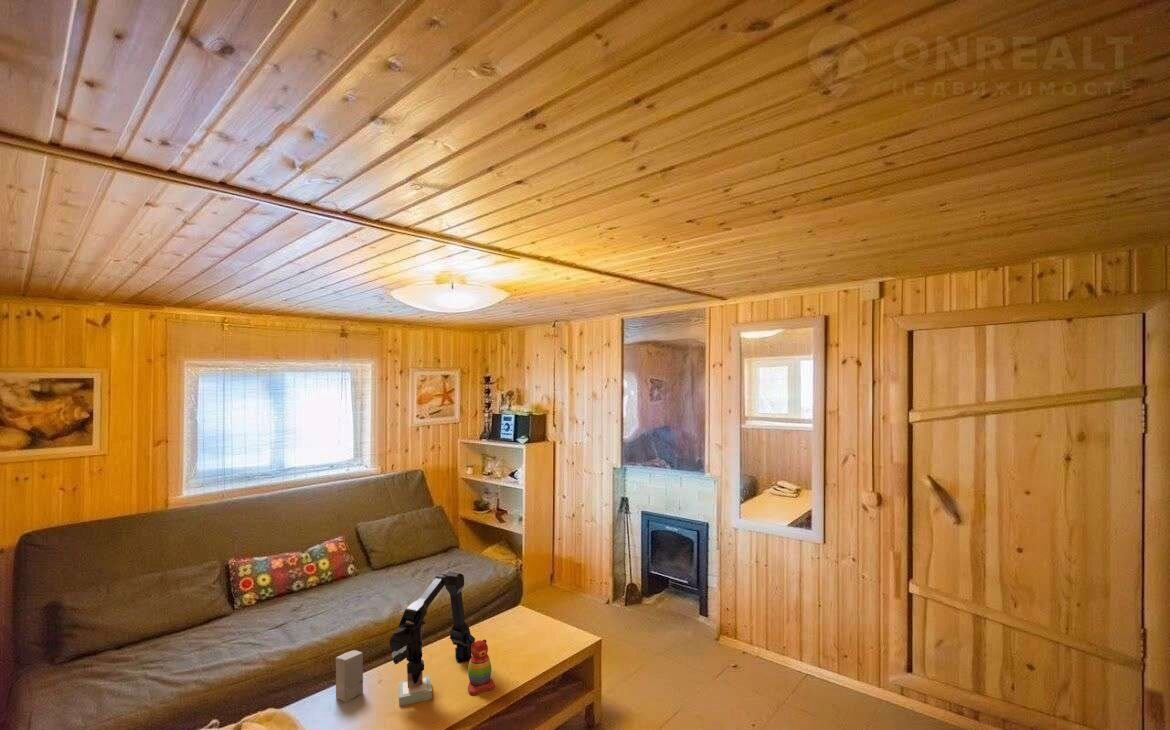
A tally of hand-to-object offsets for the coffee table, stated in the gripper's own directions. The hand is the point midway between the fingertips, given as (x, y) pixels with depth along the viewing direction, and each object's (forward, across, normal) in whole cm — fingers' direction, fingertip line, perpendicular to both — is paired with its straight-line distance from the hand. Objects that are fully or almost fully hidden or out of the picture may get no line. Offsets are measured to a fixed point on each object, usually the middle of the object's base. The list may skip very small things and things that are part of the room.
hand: (414, 679), depth 209 cm
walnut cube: (+1, 0, 0) cm, 1 cm away
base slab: (+6, 0, 0) cm, 6 cm away
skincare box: (+6, -10, -24) cm, 27 cm away
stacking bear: (+6, +5, +25) cm, 26 cm away
